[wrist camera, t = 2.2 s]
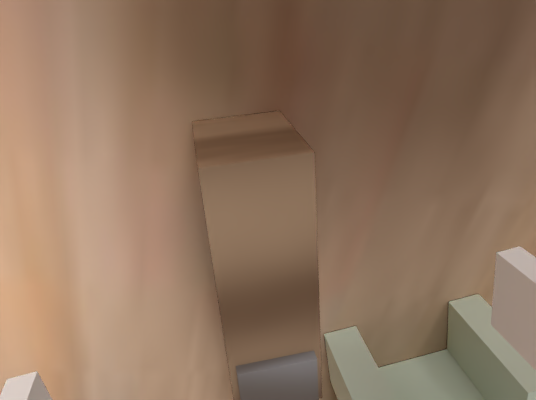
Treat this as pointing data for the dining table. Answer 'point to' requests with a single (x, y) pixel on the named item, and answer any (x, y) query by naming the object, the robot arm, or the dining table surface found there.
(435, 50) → the dining table surface
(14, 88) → the dining table surface
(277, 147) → the brown boxy piece
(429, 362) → the pale green block
